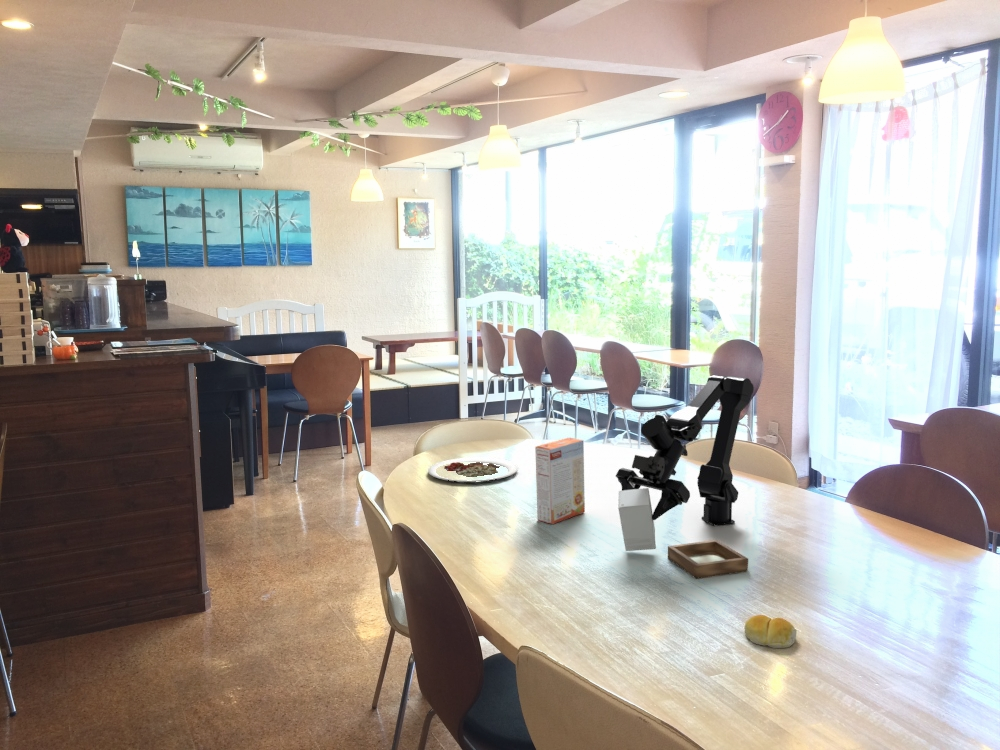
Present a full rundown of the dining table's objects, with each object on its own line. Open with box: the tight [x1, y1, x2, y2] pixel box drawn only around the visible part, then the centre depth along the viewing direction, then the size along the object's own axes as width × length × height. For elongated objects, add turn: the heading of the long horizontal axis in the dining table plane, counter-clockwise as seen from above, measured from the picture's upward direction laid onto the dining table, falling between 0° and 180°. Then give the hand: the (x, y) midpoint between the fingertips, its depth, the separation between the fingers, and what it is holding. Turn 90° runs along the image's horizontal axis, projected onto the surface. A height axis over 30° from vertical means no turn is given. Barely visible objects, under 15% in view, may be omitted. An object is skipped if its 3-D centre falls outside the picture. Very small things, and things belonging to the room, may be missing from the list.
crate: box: [667, 539, 749, 579], centre depth 184 cm, size 13×13×3 cm
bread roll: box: [744, 614, 797, 649], centre depth 148 cm, size 8×9×4 cm
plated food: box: [427, 456, 519, 483], centre depth 267 cm, size 30×30×3 cm
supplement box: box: [617, 487, 657, 552], centre depth 190 cm, size 7×7×13 cm
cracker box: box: [534, 437, 586, 525], centre depth 219 cm, size 14×6×21 cm, turn 135°
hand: (636, 514), depth 190 cm, fingers closed on supplement box, 9 cm apart
